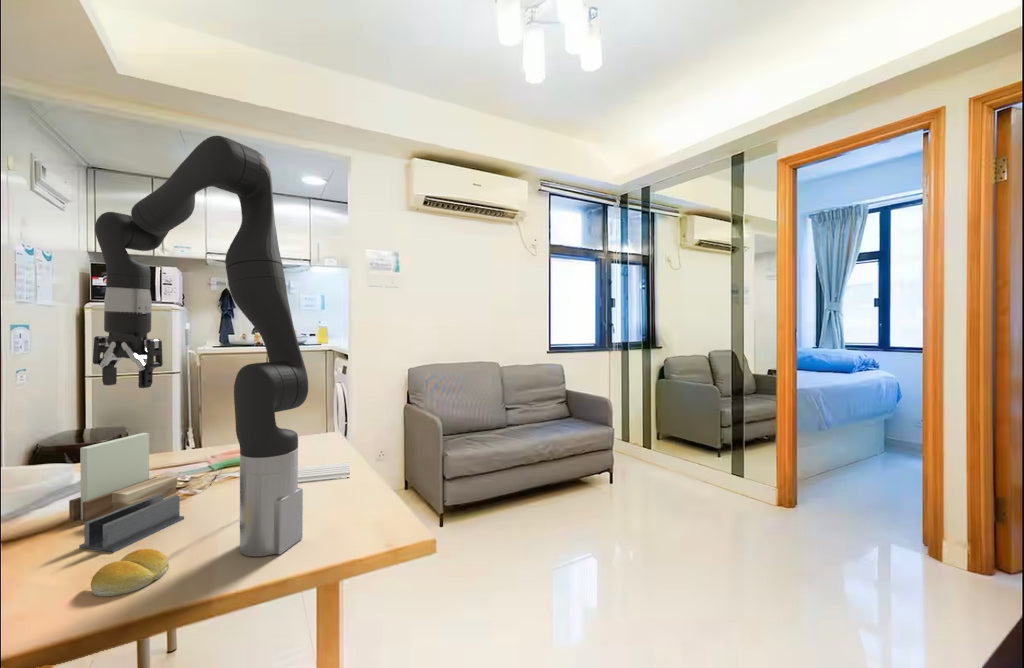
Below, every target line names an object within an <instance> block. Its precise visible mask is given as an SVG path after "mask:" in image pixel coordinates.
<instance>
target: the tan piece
mask: <svg viewBox="0 0 1024 668" xmlns="http://www.w3.org/2000/svg"><path fill="white" fill-rule="evenodd" d="M156 477H157V478H154V479H151V478H150V479H151V480H148V481H145V482H142V483H139V484H136V485H133V486H131V487H128V488H125V489H122V490H119V491H116V492H113V493H112V502H113V511H116V510H118V509H121V508H123V507H126V506H129V505H131V504H134V503H136V502H139V501H141V500H144V499H146V498H149V497H152V496H154V495H157V494H163V500H165V499H167V498H170V497H172V496H175V495H178V493H177V485H178V477H177V476H175V475H174V476H172V475H165V474H164V475H160V476H156Z"/></svg>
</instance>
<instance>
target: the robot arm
mask: <svg viewBox="0 0 1024 668" xmlns="http://www.w3.org/2000/svg"><path fill="white" fill-rule="evenodd" d="M272 179H273V178H272V171H271V167H270V165H269V163H268V160H267V158H266V157H265V156H264V155H263V154H262V153H261V152H259V151H258V150H257V149H253V147H252V148H251V147H249V146H247V145H244V144H242V143H240V142H238V141H235V140H234V139H231V138H228V137H225V136H222V135H212V136H209V137H207V138H205V139H204V140H203V141H201V142H200V143H199V144H198V145H197V146H196V147H195V148H194V149H193V150H192V151H191V152H190V154H188V156H186V158H185V159H184V160H183V162H181V163H180V164H179V166H178V167H177V168H176V169H175V171H174V172H173V173H172V174H171V175H170V176H169V178H167V180H166V181H165V182H163V183H162V185H160V186H159V187H158V188H156V189H155V190H154V191H152V192H151V193H149V194H148V195H146V196H145V197H143V198H142V199H140V200H139V201H138V202H137V203H135V204H134V205H133V207H132V208H131V210H130V214H131V215H130V214H125V213H121V212H115V211H106V212H103V213H102V214H100V215H99V216H98V217H97V219H96V221H95V224H94V233H95V237H96V239H97V242H98V245H99V247H100V251H101V254H102V257H103V261H104V263H105V267H106V280H105V281H106V282H105V284H106V286H105V287H106V288H105V294H104V303H103V304H104V308H103V309H104V310H103V311H104V312H103V313H104V314H103V316H104V317H103V328H104V329H103V331H104V332H106V333H108V335H99V336H95V337H94V338H93V349H92V350H93V352H92V364H93V365H99V366H100V368H101V369H102V370H101V371H102V372H101V375H102V376H101V377H102V379H101V381H102V384H103V385H104V386H114V385H116V384H117V378H118V377H117V374H118V373H117V372H118V367H116V366H117V365H118V364H119V362H120V361H122V360H123V359H129V360H131V361H132V362H133V363H135V364H136V365H137V367H138V369H139V370H138V385H137V387H138V388H139V389H147V388H151V387H152V385H153V374H154V373H153V372H154V369H157V368H160V367H163V363H164V361H163V341H162V339H161V338H149V337H148V334H149V333H150V332H152V294H151V268H150V266H149V265H148V263H145V262H142V261H140V260H137V259H134V258H132V256H130V254H129V252H128V251H127V249H128V250H132V251H133V250H134V251H140V252H150V251H153V250H155V249H158V248H159V247H160V246H161V244H162V243H163V241H164V240H165V239H166V237H167V235H168V234H169V232H170V231H172V230H173V229H174V228H176V227H178V226H180V225H181V224H183V223H184V222H186V221H187V220H188V219H189V218H190V217H191V215H193V212H194V211H195V208H196V207H195V205H196V194H197V193H198V192H200V191H202V190H205V189H206V188H207V189H208V188H209V187H214V188H217V189H219V190H223V191H225V192H228V193H232V194H235V195H237V197H238V200H239V203H240V210H241V223H240V225H239V229H238V231H237V232H236V235H235V236H234V238H233V240H232V241H231V243H230V245H229V247H228V249H227V251H226V255H225V258H224V259H225V262H224V265H225V271H226V277H227V283H228V288H229V291H230V295H231V297H232V299H233V301H234V303H235V305H236V306H237V307H238V309H239V310H240V311H241V313H242V314H243V315H244V316H245V318H246V319H247V320H248V321H249V322H250V323H251V325H253V327H254V328H255V329H256V331H257V332H258V334H259V336H260V337H261V338H262V339H261V340H262V341H263V343H264V347H265V350H266V354H267V359H268V361H266V362H255V363H248V364H246V365H244V366H242V367H241V368H240V369H239V371H238V372H237V374H236V377H235V380H234V384H233V385H234V386H233V400H234V401H233V402H234V403H233V405H234V417H235V418H234V419H235V435H236V438H237V441H238V444H239V472H240V477H239V551H240V553H241V554H242V555H244V556H248V557H264V556H265V557H266V556H272V555H281V554H283V553H284V552H285V551H287V550H288V549H289V548H291V547H293V546H294V545H295V544H297V543H298V542H299V541H301V540H302V539H303V530H304V529H303V523H304V522H303V521H304V520H303V514H304V513H303V509H304V507H303V506H304V505H303V503H304V501H303V500H304V499H303V497H304V490H303V488H301V487H299V483H298V467H299V465H298V464H299V435H298V433H297V432H296V431H295V430H293V429H288V428H280V427H278V426H277V422H276V413H279V412H282V411H283V412H285V411H288V410H293V409H296V408H299V407H301V406H302V405H303V404H304V403H305V402H306V400H307V397H308V394H309V379H308V374H307V373H308V371H307V369H306V365H305V362H304V357H303V355H302V351H301V349H300V348H301V347H300V345H299V342H298V338H297V334H296V329H295V326H294V322H293V317H292V313H291V307H290V304H289V298H288V297H289V296H288V290H287V283H286V276H285V271H284V266H283V261H282V256H281V252H280V247H279V242H278V235H277V226H276V219H275V209H274V194H273V193H274V192H273V180H272ZM101 354H102V358H101ZM154 357H155V358H154ZM154 359H155V360H154Z"/></svg>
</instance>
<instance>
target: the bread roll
mask: <svg viewBox="0 0 1024 668" xmlns="http://www.w3.org/2000/svg"><path fill="white" fill-rule="evenodd" d="M169 569H170V564H169V559H168V558H167V557H166V555H165V554H164V553H162V552H161V551H159V550H157V549H153V548H141V549H137V550H135V551H134V550H133V551H132V552H129V553H128V554H126V555H125V556H123V558H121V559H120V560H118V561H113V562H110V563H108V564H105V565H104V566H101V567H100V569H98V570H97V571H96V573H94V574H93V576H92V578H91V581H90V588H91V591H92V592H93V594H94V595H95V596H98V597H113V596H119V595H124V594H125V595H126V594H128V593H133V592H136V591H138V590H140V589H142V588H145V587H147V586H148V585H150V584H151V583H152V582H154V581H157V580H159V579H161V578H162V577H163V576H164V575H166V573H167V571H168V570H169Z"/></svg>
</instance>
